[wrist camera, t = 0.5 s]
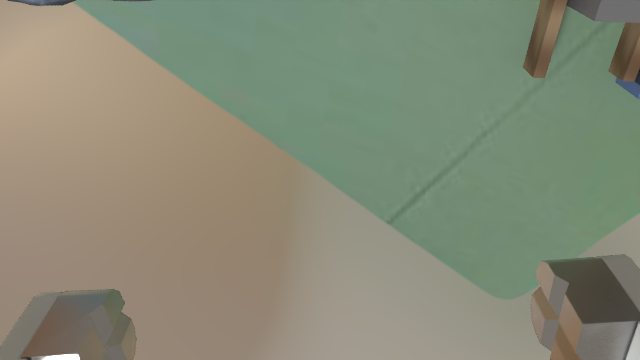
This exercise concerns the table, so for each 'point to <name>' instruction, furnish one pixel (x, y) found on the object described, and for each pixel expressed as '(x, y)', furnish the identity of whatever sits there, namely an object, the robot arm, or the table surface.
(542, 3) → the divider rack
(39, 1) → the pitcher
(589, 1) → the plug block
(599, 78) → the table surface
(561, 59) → the table surface
